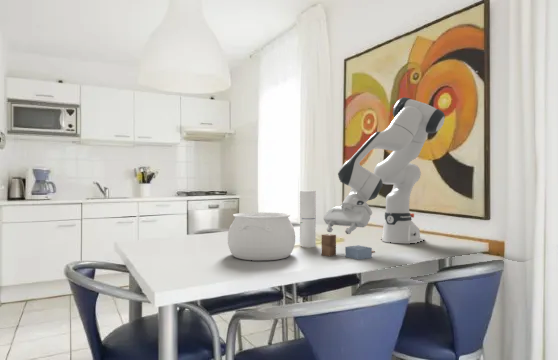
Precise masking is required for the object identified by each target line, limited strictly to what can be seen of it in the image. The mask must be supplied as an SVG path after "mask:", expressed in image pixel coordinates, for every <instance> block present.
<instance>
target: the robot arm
mask: <svg viewBox="0 0 558 360" xmlns="http://www.w3.org/2000/svg"><path fill="white" fill-rule="evenodd" d="M392 115H393V119H392V120H391V122H390V124H389V125H388V126H387V127H386V128H385V129H384V130H382V131H376V132H375V133H373V134H372V135H371V136H370V137H369V138H368V139H367V140H366V141H365V142H364V143H363V144H362V146H361V147H360V148H359V149H358V150H357V151H356V152H355V153H354V154H353V155H352V156H351V157H350V158H349V159H348V160H346V161H345V162H344V163H343V164H342V165H341V167H340V168H339V170H338V172H337V175H338V176H337V177H338V180H339V181H340V183H342V184H344V185H346V186H348V187H350V190H349V192H348V194H347V195H346V196H345V198H344V200H343V201H342V203H341V205H340V206H338V205H336V206H334V207H331V208H329V210H328V211H327V212H326V214H325V215H324V216H323V221H324V223H325V224H326V225H327V226H328V227H327V228H326V231H327V232H328V233H332V232H333V230H334V229H333V226H339V227H340V226H343V227H347V228H346V229H345V231H344V232H345V234H346V235H351V233H352V232H354V231H355V230H356V229H357V228H365V227H367V226H368V224H369V222H370V220H371V216H372V214H373V210H372V209H371V207H370V206H369V204H368V201H372V200H375V199H376V198H377V197H378V195H379V193H380V191H381V189H382V188H383V186H384V185H393V186H392V189H391V191H390V192H389V193H388V194H387V195H386V196H385V212H384V220H385V222H384V223H383V226H382V227H383V228H382V237H380V240H381V239H382V242H385V243H390V242H391V244H410V243H415V244H418V243H417V242H419V243H421V242H420V241H422V242H424V241H423V240H425V241H426V239H425V238H423V237H421V233H420V232H421V231H420V227H418V226H417V225H416V224H415V223H414V222H413V221H412V220H413V218H415V213H410V200H411V193H412V191H413V188H414V186H415V184H416V183H417V182H418V181H419V180H420V179H421V176H422V175H421V174H422V173H421V169H420V167H419V166H418V165H417V164H414V163H411V162H412V161H414V160H416V159H417V158H418V157H419V155H420V154H421V151H422V149H423V147H424V144H425V142H426V141H427V138H428V136H429V134H435V133H437V132H438V131H439V130H440V129H442V127H443V125H444V123H445V118H446V115H445V112H444V111H442V110H441V109H439V108H437V107H434V106H432V105H429V104H428V103H425V102H421V101H418V100H415V99H411V98H409V97H404V96H403V97H401V98H399V99H398V100H397V101H396V103H395V104H394V106H393V109H392ZM375 149H381V150H386V151H390V152H391V151H392V152H391V153H390V154H388V156H387V157H386V158H385V159H383V160H382V161H381V162H378V163H377V164H376V165H375V167H374V169H373V172H372V171H370V170H368V169H366V168H365V167H364V166H362V165H360V163H361V161H363V160H364V159H365V157H366V156H367V155H368V154H369V153H370V152H371V151H372V150H375ZM383 184H384V185H383Z"/></svg>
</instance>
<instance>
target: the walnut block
mask: <svg viewBox="0 0 558 360" xmlns="http://www.w3.org/2000/svg"><path fill="white" fill-rule="evenodd" d="M321 256H326V257H333V256H337V234H334V233H333V234H332V233H326V234H325V233H323V234H321Z"/></svg>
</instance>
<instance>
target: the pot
mask: <svg viewBox="0 0 558 360" xmlns="http://www.w3.org/2000/svg"><path fill="white" fill-rule="evenodd" d="M232 216H233V217H234V219H233V220H232V222H231V224H230V226H229V228H228V233H227V245H228V249H229V251H230V253H231V255H232V256H233V257H234V258H236V259H239V260H243V261H251V260H252V261H254V262H256V261H257V262H267V261H278V260H282V259H285V258H288V257H290V255H291V254H292V253H293V251H294V248H295V246H296V245H295V244H296V232H295V231H296V230H295V227H294V225H293V224H292V222H291V220H290V218H289V217H291V214H290V213H284V212H240V213H239V212H238V213H233V214H232ZM252 261H251V262H252Z"/></svg>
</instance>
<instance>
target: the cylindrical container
mask: <svg viewBox="0 0 558 360" xmlns="http://www.w3.org/2000/svg"><path fill="white" fill-rule="evenodd" d="M316 195H317V194H316V190H299V247H300V246H302V248H315V247H316V245H317V244H316V239H317V237H316V236H317V235H316V233H317V231H316V227H317V226H316V223H317V222H316V221H317V220H316V212H317V211H316V210H317V209H316V206H317V204H316V203H317V199H316Z"/></svg>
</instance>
